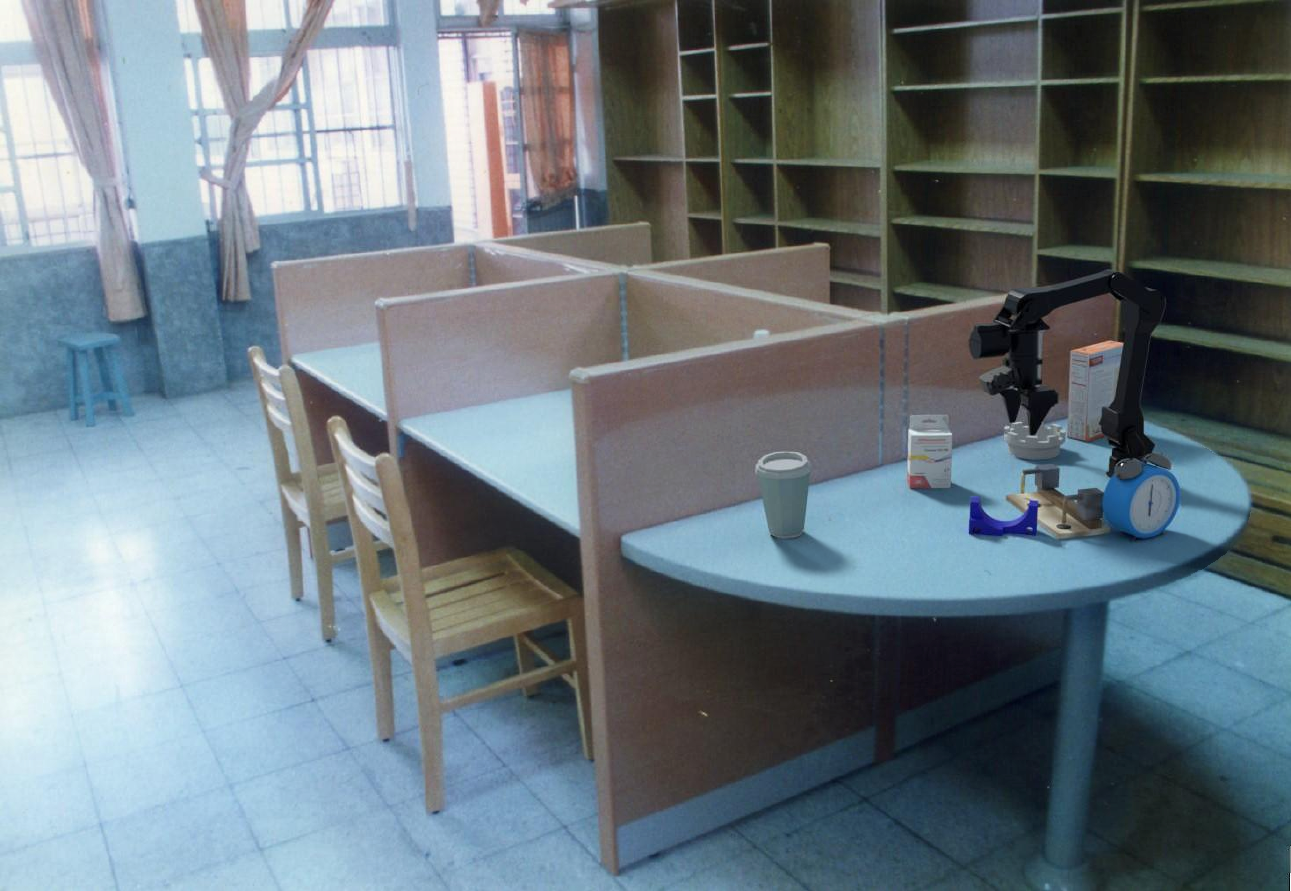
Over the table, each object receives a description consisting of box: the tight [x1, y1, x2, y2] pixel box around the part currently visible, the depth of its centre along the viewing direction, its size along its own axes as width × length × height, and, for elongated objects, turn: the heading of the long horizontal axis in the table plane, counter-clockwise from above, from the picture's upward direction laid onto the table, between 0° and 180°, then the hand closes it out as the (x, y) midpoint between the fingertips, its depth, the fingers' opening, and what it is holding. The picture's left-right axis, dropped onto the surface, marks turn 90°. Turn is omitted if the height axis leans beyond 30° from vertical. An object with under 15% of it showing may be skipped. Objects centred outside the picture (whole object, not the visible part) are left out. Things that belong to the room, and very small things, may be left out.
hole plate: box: [1005, 486, 1111, 540], centre depth 227 cm, size 10×22×8 cm, turn 8°
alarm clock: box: [1103, 452, 1181, 542], centre depth 215 cm, size 13×6×15 cm, turn 113°
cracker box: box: [1066, 340, 1124, 443], centre depth 272 cm, size 14×6×21 cm, turn 123°
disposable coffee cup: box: [754, 450, 813, 540], centre depth 225 cm, size 11×11×15 cm
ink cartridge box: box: [906, 414, 953, 489], centre depth 246 cm, size 9×5×15 cm, turn 84°
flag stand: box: [1003, 330, 1067, 461], centre depth 261 cm, size 13×13×30 cm
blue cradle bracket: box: [968, 496, 1038, 537], centre depth 221 cm, size 12×4×6 cm, turn 71°
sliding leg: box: [1020, 463, 1061, 494], centre depth 235 cm, size 7×3×5 cm, turn 98°
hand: (1022, 428), depth 239 cm, fingers open, 9 cm apart
